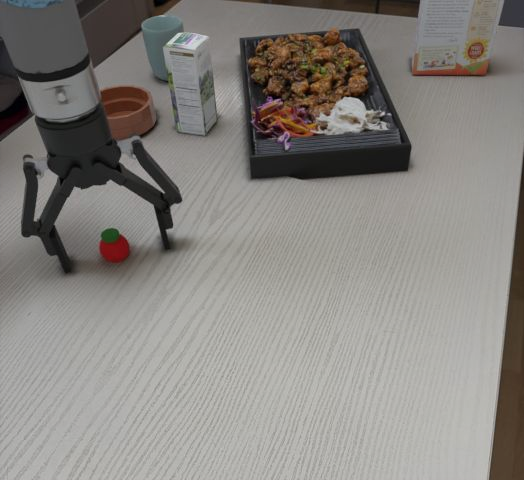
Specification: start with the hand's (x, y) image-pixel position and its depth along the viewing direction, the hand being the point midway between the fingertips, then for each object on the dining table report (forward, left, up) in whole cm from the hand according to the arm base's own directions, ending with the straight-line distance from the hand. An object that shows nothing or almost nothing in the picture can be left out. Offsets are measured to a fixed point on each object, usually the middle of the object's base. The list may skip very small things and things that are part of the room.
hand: (118, 258), depth 75 cm
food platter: (+7, +49, 0) cm, 49 cm away
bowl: (-22, +30, 0) cm, 37 cm away
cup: (-25, +50, 0) cm, 56 cm away
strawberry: (0, 0, 0) cm, 0 cm away
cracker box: (+25, +73, 0) cm, 77 cm away
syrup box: (-9, +35, 0) cm, 36 cm away
